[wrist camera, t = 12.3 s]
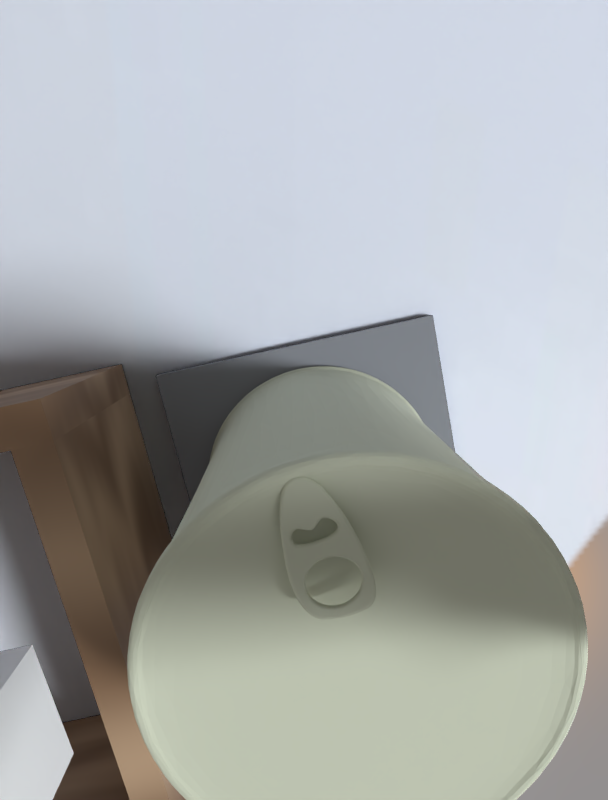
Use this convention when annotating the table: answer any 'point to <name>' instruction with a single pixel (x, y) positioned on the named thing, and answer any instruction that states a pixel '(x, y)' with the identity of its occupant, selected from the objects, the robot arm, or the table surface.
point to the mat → (361, 350)
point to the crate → (94, 556)
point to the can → (352, 613)
